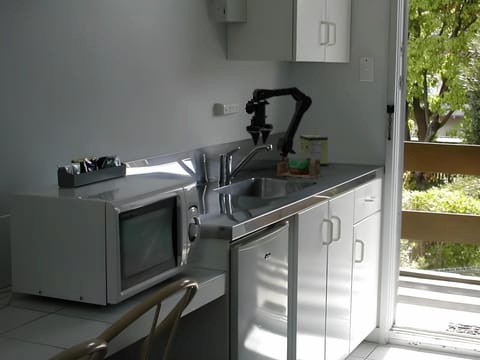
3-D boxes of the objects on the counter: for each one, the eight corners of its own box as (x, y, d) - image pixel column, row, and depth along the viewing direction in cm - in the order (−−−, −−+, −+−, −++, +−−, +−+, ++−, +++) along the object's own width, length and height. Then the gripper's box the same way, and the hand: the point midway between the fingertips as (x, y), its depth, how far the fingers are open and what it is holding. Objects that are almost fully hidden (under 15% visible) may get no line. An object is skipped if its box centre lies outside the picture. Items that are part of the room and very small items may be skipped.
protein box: (317, 162, 401) (317, 134, 399) (327, 166, 387) (328, 137, 384) (299, 163, 399) (299, 135, 396) (309, 167, 384) (309, 137, 381)
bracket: (285, 173, 360) (285, 157, 359) (321, 175, 351) (321, 159, 350) (276, 176, 351) (276, 159, 350) (312, 178, 342) (313, 161, 341)
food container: (282, 174, 350) (283, 153, 349) (288, 172, 356) (288, 152, 354) (306, 175, 345) (306, 154, 343) (311, 174, 350) (311, 153, 348)
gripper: (254, 112, 380) (254, 142, 382) (236, 114, 364) (237, 145, 366) (273, 112, 375) (273, 143, 377) (256, 115, 358) (256, 146, 361)
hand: (259, 144), depth 370 cm, fingers open, 9 cm apart
